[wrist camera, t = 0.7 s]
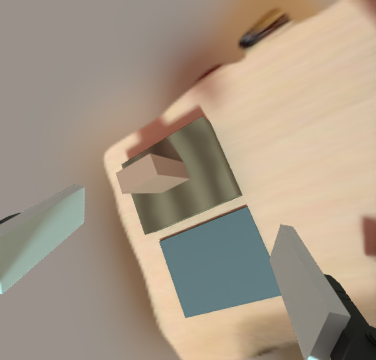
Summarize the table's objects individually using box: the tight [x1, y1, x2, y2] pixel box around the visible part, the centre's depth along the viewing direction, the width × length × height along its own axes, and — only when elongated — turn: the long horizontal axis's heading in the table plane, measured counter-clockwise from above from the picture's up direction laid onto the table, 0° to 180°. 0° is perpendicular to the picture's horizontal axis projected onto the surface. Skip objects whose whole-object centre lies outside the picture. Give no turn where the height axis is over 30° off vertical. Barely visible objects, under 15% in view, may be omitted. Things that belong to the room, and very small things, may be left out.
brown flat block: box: [122, 116, 242, 235], centre depth 41 cm, size 18×14×4 cm
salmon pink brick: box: [116, 154, 190, 194], centre depth 35 cm, size 6×3×10 cm, turn 112°
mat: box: [160, 207, 281, 318], centre depth 39 cm, size 18×14×1 cm
